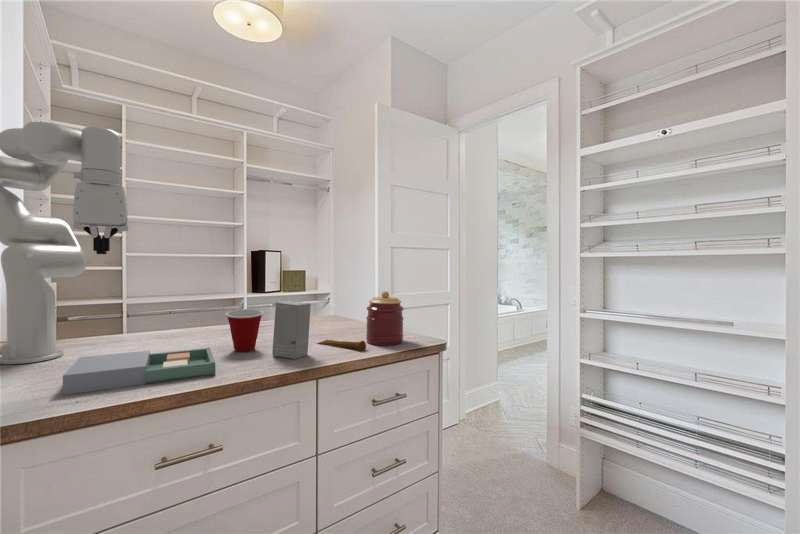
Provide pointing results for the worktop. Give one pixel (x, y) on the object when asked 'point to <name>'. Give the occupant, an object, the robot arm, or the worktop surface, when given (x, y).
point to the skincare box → (291, 329)
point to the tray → (198, 367)
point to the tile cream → (175, 363)
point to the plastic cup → (244, 328)
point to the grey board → (106, 372)
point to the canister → (384, 320)
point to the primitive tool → (345, 344)
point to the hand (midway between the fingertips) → (101, 254)
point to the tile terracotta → (179, 357)
